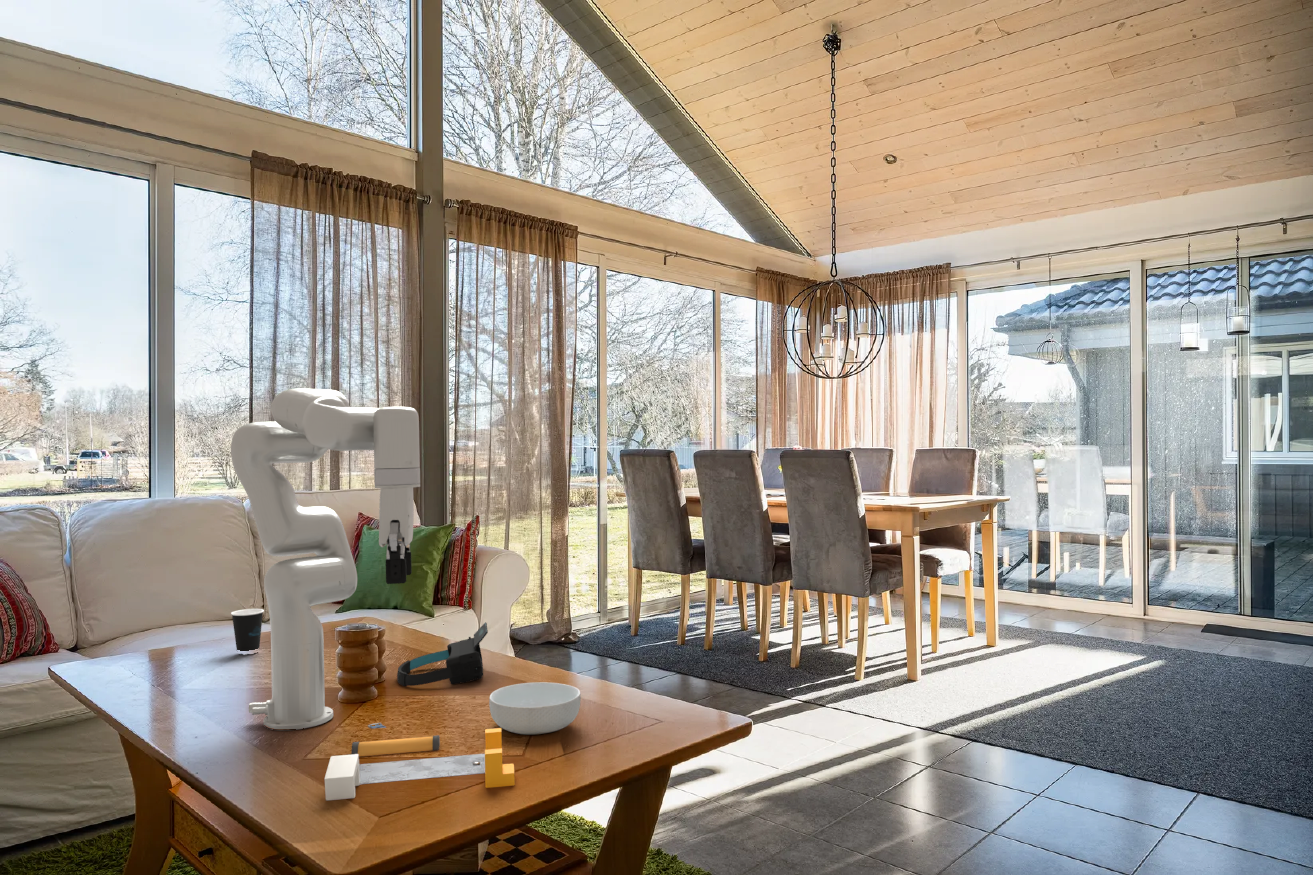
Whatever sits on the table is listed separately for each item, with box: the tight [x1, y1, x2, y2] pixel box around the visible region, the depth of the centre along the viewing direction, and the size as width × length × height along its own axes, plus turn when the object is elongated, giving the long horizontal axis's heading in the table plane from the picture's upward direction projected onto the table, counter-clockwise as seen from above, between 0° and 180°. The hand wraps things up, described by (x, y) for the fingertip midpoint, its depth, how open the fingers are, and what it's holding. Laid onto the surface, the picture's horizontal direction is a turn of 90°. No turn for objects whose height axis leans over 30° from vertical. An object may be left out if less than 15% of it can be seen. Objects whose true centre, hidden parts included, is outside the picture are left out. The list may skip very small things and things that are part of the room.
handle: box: [350, 734, 441, 757], centre depth 150 cm, size 14×3×3 cm, turn 101°
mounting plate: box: [359, 753, 485, 785], centre depth 141 cm, size 22×9×1 cm, turn 101°
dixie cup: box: [230, 608, 265, 651], centre depth 232 cm, size 8×8×11 cm
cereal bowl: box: [488, 681, 582, 735], centre depth 162 cm, size 17×17×7 cm
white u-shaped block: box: [324, 754, 361, 801], centre depth 132 cm, size 4×6×5 cm
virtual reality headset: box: [396, 622, 488, 687], centre depth 203 cm, size 19×22×10 cm
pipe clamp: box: [484, 727, 516, 789], centre depth 139 cm, size 12×4×6 cm, turn 11°
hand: (399, 579), depth 150 cm, fingers open, 9 cm apart
